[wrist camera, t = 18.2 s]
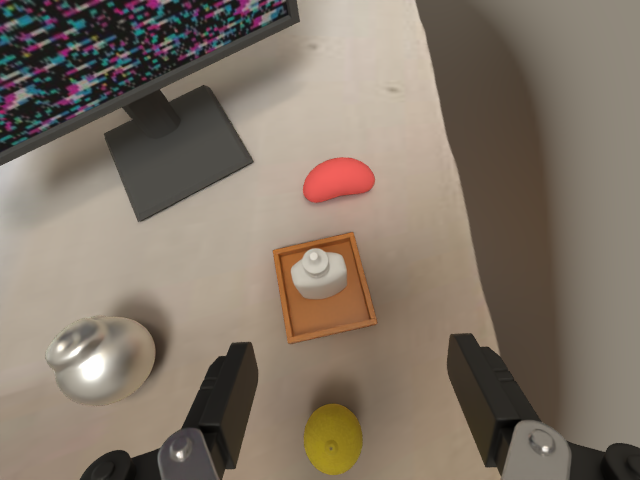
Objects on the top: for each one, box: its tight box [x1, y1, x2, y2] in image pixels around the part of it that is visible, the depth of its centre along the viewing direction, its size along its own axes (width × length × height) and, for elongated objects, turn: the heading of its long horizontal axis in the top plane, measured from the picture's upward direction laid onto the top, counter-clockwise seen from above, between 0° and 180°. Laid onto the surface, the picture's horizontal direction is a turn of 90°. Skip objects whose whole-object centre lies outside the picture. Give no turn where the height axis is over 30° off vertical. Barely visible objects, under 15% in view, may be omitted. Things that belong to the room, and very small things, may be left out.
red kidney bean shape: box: [303, 157, 375, 203], centre depth 41 cm, size 5×9×6 cm
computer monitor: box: [0, 0, 300, 222], centre depth 29 cm, size 44×16×40 cm, turn 120°
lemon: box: [304, 404, 362, 475], centre depth 30 cm, size 6×6×8 cm
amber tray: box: [273, 232, 377, 344], centre depth 38 cm, size 11×10×2 cm
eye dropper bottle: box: [291, 248, 347, 299], centre depth 33 cm, size 4×6×12 cm
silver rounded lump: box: [45, 316, 155, 406], centre depth 33 cm, size 9×10×10 cm
